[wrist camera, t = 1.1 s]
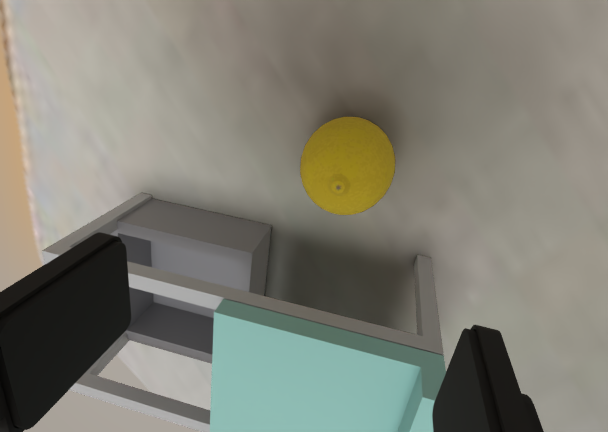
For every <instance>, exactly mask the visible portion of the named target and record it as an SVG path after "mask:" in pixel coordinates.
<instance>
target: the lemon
mask: <svg viewBox="0 0 608 432" xmlns="http://www.w3.org/2000/svg"><path fill="white" fill-rule="evenodd" d="M394 172H395V155H394V151H393V147H392V144H391V143H390V141H389V139H388V137H387V135H386V134H385V133H384V132H383V131H382V130H381V129H380V128H379V127H378V126H377V125H375V124H373V123H372V122H370V121H368V120H365V119H362V118H359V117H342V118H337V119H333V120H331V121H329V122H328V123H326V124H324V125H322V126H321V127H320V128H319V129H318V130H317V131H315V132H314V133H313V134H312V136H311V137H310V139H309V140H308V142H307V144H306V145H305V148H304V151H303V154H302V157H301V167H300V173H301V178H302V183H303V186H304V188H305V190H306V192H307V194H308V195H309V197H310V198H311V199H312V200H313V202H314V203H316V204H317V205H318V206H319V207H321V208H322V209H324V210H326V211H328V212H331V213H334V214H339V215H352V214H356V213H360V212H363V211H365V210H367V209H369V208H370V207H372V206H374V205H375V204H376V203H377V202H378V201H379V200H380V199H381V198H382V197H383V196H384V195H385V193H386V191H387V190H388V188H389V187H390V185H391V182H392V179H393V176H394Z"/></svg>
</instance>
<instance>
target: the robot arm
mask: <svg viewBox="0 0 608 432" xmlns="http://www.w3.org/2000/svg"><path fill="white" fill-rule="evenodd" d="M130 322H131V306H130V292H129V278H128V265H127V251H126V246H125V244H124V243H122V240H121V238H119V237H118V236H114V235H110V234H105V233H101V232H98V233H96V234H94V235H92V236H90V237H89V238H87V239H86V240H84V241H82V242H81V243H79V244H78V245H76V246H74V247H73V248H71V249H69V250H68V251H66V252H65V253H63V254H61V255H60V256H58V257H56V258H55V259H53V260H52V261H50V262H48V263H47V264H45V265H44V266H42V267H40V268H39V269H37V270H35V271H34V272H32V273H31V274H29V275H27V276H26V277H24V278H23V279H21V280H20V281H18V282H16V283H14V284H13V285H11V286H10V287H8V288H6V289H5V290H3V291H2V292H0V432H23V431H24V430H27V429H30V428H31V427H33V426H34V425H35V424H36V423H37V422H38V421H39V420H40V419H41V418H42V417H43V416H44V415H45V414H46V413H47V412H48V411H49V410H50V409H51V408H52V407H53V406H54V405H55V403H57V401H58V400H59V399H60V398H61V397H62V396H63V395H64V394H65V393H66V392H67V391H68V390H69V389H70V388H71V387H72V386H73V385H74V384H75V383H76V382H77V381H78V380H79V379H80V378H81V377H82V376H83V375H84V373H85V372H86V371H87V370H88V369H89V368H90V367H91V366H92V365H93V364H94V363H95V362H96V361H97V360H98V359H99V358H100V357H101V356H102V355H103V354H104V353H105V352H106V351H107V350H108V349H109V348H110V347H111V345H112V344H113V343H114V342H115V341H116V340H117V339H118V338H119V337H120V336H121V335H122V334H123V333H124V332H125V331H126V330H127V328H128V327H129V325H130ZM432 420H433V432H544V431H543V429H542V426H541V423H540V420H539V418H538V415H537V412H536V409H535V407H534V404H533V402H532V400H531V398H530V397H529V396H527V395H525V394H521V391H520V389H519V386H518V383H517V380H516V377H515V374H514V371H513V368H512V365H511V362H510V359H509V356H508V353H507V350H506V347H505V344H504V341H503V338H502V335H501V333H500V331H498V330H494V329H490V328H486V327H482V326H478V325H473V327H472V328H471V330H470V329H464V330H463V332H462V334H461V336H460V339H459V341H458V344H457V346H456V349H455V351H454V354H453V356H452V359H451V361H450V364H449V367H448V369H447V372H446V374H445V377H444V379H443V382H442V384H441V387H440V389H439V392H438V394H437V397H436V399H435V402H434V406H433V412H432Z"/></svg>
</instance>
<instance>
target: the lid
mask: <svg viewBox="0 0 608 432" xmlns="http://www.w3.org/2000/svg"><path fill="white" fill-rule="evenodd" d="M445 374H446V370H445V362H444V356H442V355H438V354H434V353H430V352H427V351H423V350H419V349H415V348H411V347H407V346H403V345H400V344H396V343H392V342H388V341H384V340H380V339H376V338H373V337H369V336H365V335H361V334H357V333H353V332H349V331H346V330H342V329H338V328H334V327H330V326H326V325H322V324H319V323H315V322H311V321H307V320H303V319H299V318H295V317H292V316H288V315H284V314H280V313H276V312H272V311H268V310H265V309H261V308H257V307H253V306H249V305H245V304H241V303H238V302H234V301H230V300H226V299H223V300H222V301H221V303H220V304H219V306H218V307H217V309H216V310H215V311H214V325H213V354H212V382H211V411H210V432H433V420H432V412H433V406H434V402H435V399H436V397H437V394H438V392H439V389H440V387H441V384H442V382H443V379H444V377H445Z"/></svg>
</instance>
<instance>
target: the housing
mask: <svg viewBox="0 0 608 432" xmlns="http://www.w3.org/2000/svg"><path fill="white" fill-rule="evenodd" d="M271 228H272V225H267V224H263V223H259V222H254V221H250V220H245V219H241V218H236V217H232V216H227V215H223V214H219V213H214V212H210V211H205V210H201V209H196V208H192V207H187V206H183V205H179V204H174V203H170V202H165V201H161V200H156V199H152V195H149V194H144V193H140V194H138V195H136V196H135V197H133V198H131V199H129V200H128V201H126V202H124V203H123V204H121V205H119V206H117V207H116V208H114V209H112V210H111V211H109V212H107V213H106V214H104V215H102V216H100V217H99V218H97V219H95V220H94V221H92V222H90V223H88V224H87V225H85V226H83V227H82V228H80V229H78V230H76V231H75V232H73V233H71V234H70V235H68V236H66V237H65V238H63V239H61V240H59V241H58V242H56V243H54V244H53V245H51V246H49V247H47V248H46V249H44V250H42V253H43V258H44V263H45V264H47V263H48V262H50V261H52V260H53V259H55V258H56V257H58V256H60V255H61V254H63V253H65V252H66V251H68V250H69V249H71V248H73V247H74V246H76V245H78V244H79V243H81V242H82V241H84V240H86V239H87V238H89V237H90V236H92V235H94V234H96V233H98V232H101V233H105V234H110V235H114V236H118V237H119V238H121V240H122V243H124V244H125V246H126V251H127V265H128V278H129V292H130V306H131V322H130V325H129V327H128V328H127V330H126V331H125V332H124V333H123V334H122V335H121V336H120V337H119V338H118V339H117V340H116V341H115V342H114V343H113V344H112V345H111V347H110V348H109V349H108V350H107V351H106V352H105V353H104V354H103V355H102V356H101V357H100V358H99V359H98V360H97V361H96V362H95V363H94V364H93V365H92V366H91V367H90V368H89V369H88V370H87V371H86V372H85V373H84V375H83V376H82V377H81V378H80V379H79V380H78V381H77V382H76V383H75V384H74V385H73V386H72V387H71V388H70V389H69V390H71V391H74V392H77V393H80V394H84V395H87V396H90V397H93V398H96V399H99V400H103V401H105V402H109V403H112V404H115V405H118V406H121V407H124V408H128V409H131V410H134V411H137V412H140V413H143V414H147V415H150V416H153V417H156V418H159V419H162V420H166V421H169V422H172V423H176V424H178V425H182V426H185V427H188V428H191V429H194V430H197V431H201V432H210V410H206V409H203V408H200V407H197V406H193V405H190V404H187V403H184V402H180V401H177V400H174V399H171V398H167V397H164V396H161V395H157V394H154V393H151V392H147V391H144V390H141V389H138V388H135V387H131V386H128V385H125V384H122V383H118V382H115V381H112V380H108V379H105V378H102V377H99V376H97V375H98V374H99V373H100V372H101V371H102V370H103V369H104V367H105V366H106V365H107V364H108V363H109V362H110V361H111V360H112V359H113V358H114V356H115V355H116V354H117V353H118V352H119V351H120V350H121V349H122V348H123V347H124V346H125V344H126V343H127V342H128V341H129V340H132V341H135V342H138V343H142V344H145V345H149V346H152V347H156V348H159V349H163V350H166V351H170V352H173V353H177V354H180V355H184V356H187V357H191V358H194V359H198V360H201V361H205V362H208V363H212V354H213V325H214V311H215V310H216V309H217V307H218V306H219V304H220V303H221V301H222V300H223V299H226V300H230V301H234V302H238V303H241V304H245V305H249V306H253V307H257V308H261V309H265V310H268V311H272V312H276V313H280V314H284V315H288V316H292V317H295V318H299V319H303V320H307V321H311V322H315V323H319V324H322V325H326V326H330V327H334V328H338V329H342V330H346V331H349V332H353V333H357V334H361V335H365V336H369V337H373V338H376V339H380V340H384V341H388V342H392V343H396V344H400V345H403V346H407V347H411V348H415V349H419V350H423V351H427V352H430V353H434V354H438V355H442V356H443V355H444V354H443V347H442V339H441V331H440V323H439V316H438V308H437V300H436V292H435V285H434V277H433V269H432V261H431V258H430V257H426V256H421V255H417V257H416V261H415V264H414V276H415V297H416V317H417V335H416V334H412V333H408V332H404V331H400V330H396V329H392V328H388V327H384V326H380V325H376V324H372V323H368V322H364V321H360V320H357V319H353V318H349V317H345V316H341V315H337V314H333V313H329V312H325V311H321V310H317V309H313V308H309V307H305V306H301V305H297V304H294V303H290V302H286V301H282V300H278V299H274V298H270V297H266V296H264V295H265V286H266V276H267V267H268V257H269V247H270V238H271Z"/></svg>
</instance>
